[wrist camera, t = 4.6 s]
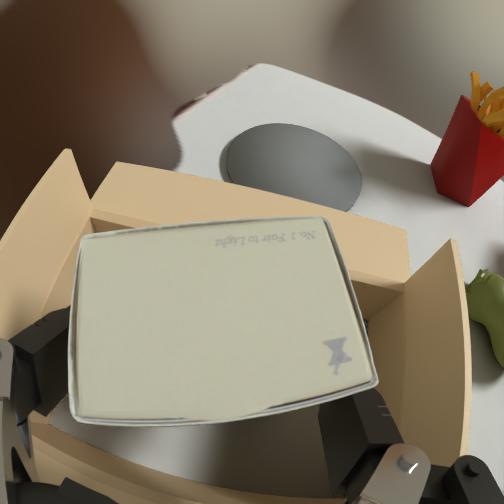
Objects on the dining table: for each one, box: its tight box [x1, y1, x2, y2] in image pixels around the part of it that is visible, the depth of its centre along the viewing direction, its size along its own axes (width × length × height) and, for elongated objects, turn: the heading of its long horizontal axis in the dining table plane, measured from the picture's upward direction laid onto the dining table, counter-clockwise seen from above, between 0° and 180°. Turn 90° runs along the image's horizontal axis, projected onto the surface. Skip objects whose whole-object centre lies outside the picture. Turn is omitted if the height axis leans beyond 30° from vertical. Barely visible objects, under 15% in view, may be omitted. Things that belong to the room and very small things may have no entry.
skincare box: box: [68, 216, 379, 427], centre depth 11 cm, size 6×4×12 cm
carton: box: [0, 149, 472, 504], centre depth 12 cm, size 19×21×9 cm
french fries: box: [430, 71, 504, 207], centre depth 22 cm, size 9×8×15 cm
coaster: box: [227, 123, 362, 212], centre depth 26 cm, size 12×12×1 cm
